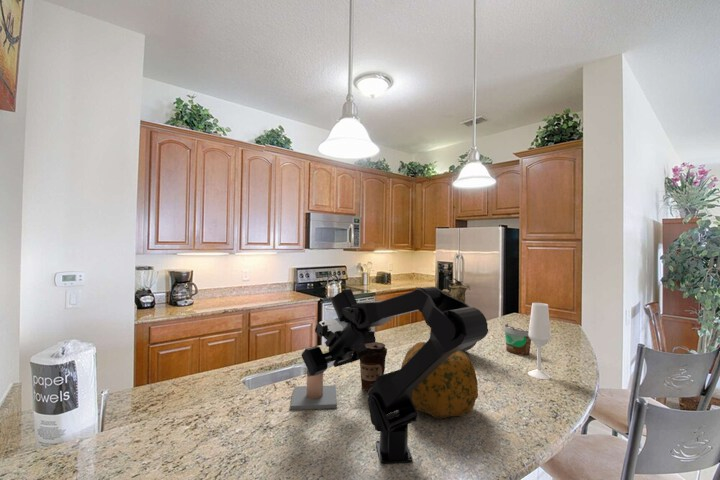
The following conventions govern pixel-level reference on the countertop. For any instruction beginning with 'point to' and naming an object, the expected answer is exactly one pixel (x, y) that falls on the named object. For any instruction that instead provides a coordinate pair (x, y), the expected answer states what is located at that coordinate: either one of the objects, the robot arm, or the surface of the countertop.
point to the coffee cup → (372, 364)
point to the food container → (517, 340)
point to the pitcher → (459, 293)
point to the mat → (304, 402)
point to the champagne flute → (539, 334)
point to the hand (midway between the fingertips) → (321, 369)
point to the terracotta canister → (315, 386)
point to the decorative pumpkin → (446, 386)
